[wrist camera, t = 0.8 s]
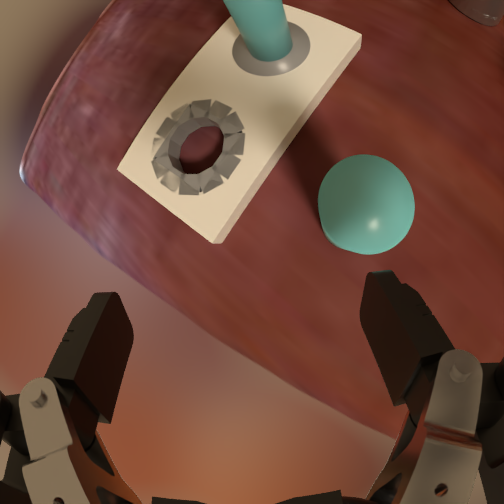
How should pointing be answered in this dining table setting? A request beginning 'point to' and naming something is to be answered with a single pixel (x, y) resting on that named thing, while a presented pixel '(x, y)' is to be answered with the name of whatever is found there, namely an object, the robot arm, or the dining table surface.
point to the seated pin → (262, 27)
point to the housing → (236, 118)
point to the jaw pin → (365, 204)
